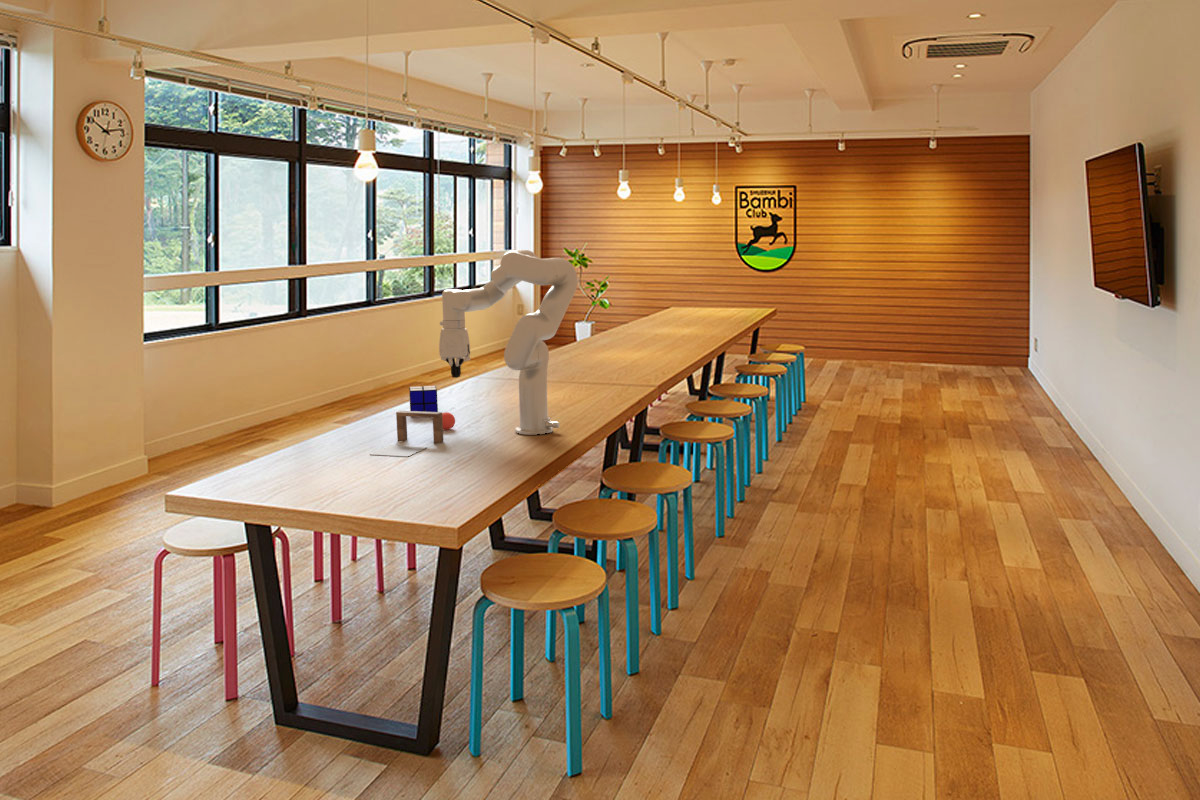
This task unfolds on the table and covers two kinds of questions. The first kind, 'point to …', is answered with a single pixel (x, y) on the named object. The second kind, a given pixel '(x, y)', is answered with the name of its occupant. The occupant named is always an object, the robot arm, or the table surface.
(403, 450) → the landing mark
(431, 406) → the puzzle cube
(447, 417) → the ball
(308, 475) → the table surface
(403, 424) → the bridge
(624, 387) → the table surface
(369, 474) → the table surface
